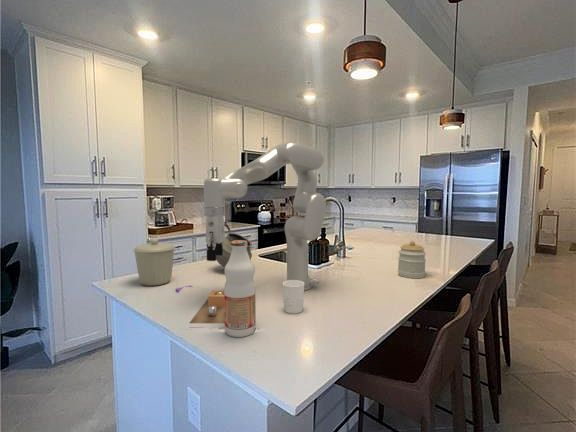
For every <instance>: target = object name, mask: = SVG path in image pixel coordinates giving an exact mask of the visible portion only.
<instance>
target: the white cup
mask: <svg viewBox="0 0 576 432" xmlns="http://www.w3.org/2000/svg"><path fill="white" fill-rule="evenodd" d="M304 299H305V291H304V282H302V281H298V280H288V281H287V280H284V281H283V282H282V300H283V311H284V312H285V313H288V314H300V313H302V312H303V309H304Z"/></svg>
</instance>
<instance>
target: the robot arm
mask: <svg viewBox="0 0 576 432" xmlns="http://www.w3.org/2000/svg"><path fill="white" fill-rule="evenodd" d="M323 164H324V155H323V154H322V152H321V151H320V150H318V149H316V148H314V147H310V146H307V145H304V144H301V143H297V142H293V141H292V142H285V143H280V144H277V145H275V146H274V147H271V149H269V150H267V152H264V153H263V154H262V155H260V156H258V157H257V158H256V159H254V160H253V161H250V162H249V163H247V164H245V165H244V166H242V167H240V168H238V169H236V170H234V171H233V172H231V173H230V174H228V175H227V176H226V177H224V178H213V177H211V178H209V177H208V178H206V179H205V178H204V181H203V202H204V203H203V211H204V214H203V216H204V217H206V219H205V242H206V261H207V262H217V260H216V255H223V245H222V244H223V241H224V240H225V237H226V233H225V231H226V230H225V228H226V226H224V223H225V216H226V198H227V199H240V198H243V197H245V195H246V194H247V193H248V185H251V184H253V183H256V182H260V181H263V180H265V179H267V178H269V177H270V176H272V175H273V174H274V173H276V172H277V171H279V170H280V169H281V168H282V167H284V166H286V165H291V167H292V168H293V169H294V172H295V174H296V176H297V184H296V191H295V194H294V199H293V202H292V203H293V204H292V208H293V210H294V211H295V212H296V213H298V214H300V215H301V214H303V215H304V216H300V215H299V216H298V215H295V216H291V217H289V218H288V219H286V222H285V224H284V234H285V239H286V281H288V280H298V281H302V282H304V292H305V291H308V290H311V288H312V286H313V285H312V284H314V285H317V284H319V283H320V282H319V281H320V280H319V278H318V279H316V278H310V275H309V243H308V241H310V242H311V241H315V240H316V239H318V237H319V236H320V234H321V231H322V227H323V224H324V223H323V222H324V219H325V215H326V210H327V203H326V198H325V196H323V195H322V193H319V192H317V186H318V178H317V176H316V174H315V170H319V169H321V168H322V166H323Z"/></svg>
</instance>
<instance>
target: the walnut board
mask: <svg viewBox="0 0 576 432" xmlns="http://www.w3.org/2000/svg"><path fill="white" fill-rule="evenodd" d="M216 310H217V316H215V317H209V307H208V298H207V299H206V300H205V302H204V303H203V304H202V305H201V307H200V308H199V309H198V311H197V312H196V313H195V315H194V316H193V317H192V319H191V320H190V321H189V324H225V307H216ZM192 328H195V329H198V328H199V329H203V327H194V326H193V327H189V329H192Z"/></svg>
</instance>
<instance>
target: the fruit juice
mask: <svg viewBox="0 0 576 432" xmlns="http://www.w3.org/2000/svg"><path fill="white" fill-rule="evenodd" d="M247 245H248V243H247V241H245V240H236V241H232V242H231V247H232V252H231V255H230V258H229V261H228V263H227V264H226V266H225V267H224V277H225V284H224V300H225V323H224V332H225V333H226V335H227V336H230V337H233V338H243V337H248V336H251V335H252V334H253V333H254V332H255V331H256V327H257V324H256V322H257V319H256V315H257V313H256V284H255V281H254V277H255V272H256V270H255V265H254V264H253V262H252V259H251V260H250V258H249V255H248V252H247Z"/></svg>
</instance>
